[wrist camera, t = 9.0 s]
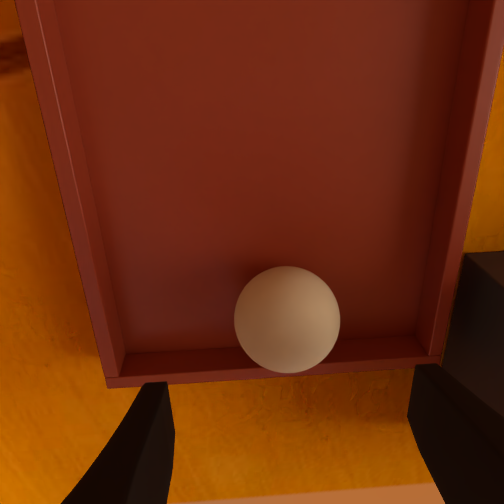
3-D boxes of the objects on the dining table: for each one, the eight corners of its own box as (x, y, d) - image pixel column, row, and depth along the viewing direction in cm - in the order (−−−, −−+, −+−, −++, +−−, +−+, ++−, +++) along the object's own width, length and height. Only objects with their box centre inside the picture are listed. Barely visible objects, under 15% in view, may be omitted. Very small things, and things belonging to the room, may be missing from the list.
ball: (330, 285, 19) (375, 352, 16) (256, 336, 20) (286, 410, 16) (286, 227, 17) (329, 293, 14) (204, 287, 17) (227, 363, 14)
